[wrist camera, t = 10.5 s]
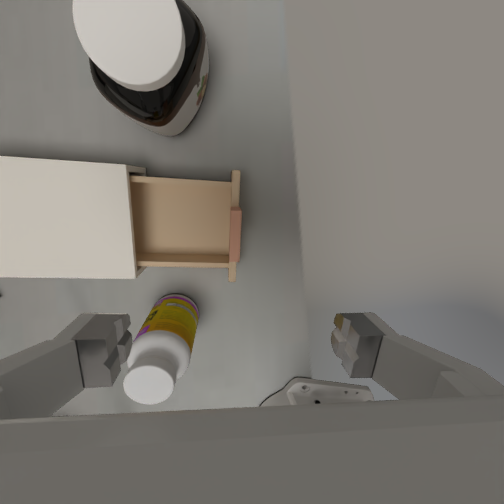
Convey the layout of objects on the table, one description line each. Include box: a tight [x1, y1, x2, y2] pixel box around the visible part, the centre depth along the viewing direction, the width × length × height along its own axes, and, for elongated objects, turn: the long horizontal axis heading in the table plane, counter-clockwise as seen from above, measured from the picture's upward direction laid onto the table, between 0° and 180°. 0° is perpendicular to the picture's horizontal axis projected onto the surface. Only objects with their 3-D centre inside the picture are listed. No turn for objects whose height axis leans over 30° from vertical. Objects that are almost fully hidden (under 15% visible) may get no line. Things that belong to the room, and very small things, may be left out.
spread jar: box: [73, 0, 209, 136], centre depth 20 cm, size 12×11×12 cm
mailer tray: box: [129, 170, 242, 282], centre depth 26 cm, size 16×12×9 cm
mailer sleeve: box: [0, 156, 147, 279], centre depth 26 cm, size 16×12×6 cm
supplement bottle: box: [123, 294, 199, 404], centre depth 28 cm, size 7×7×13 cm
